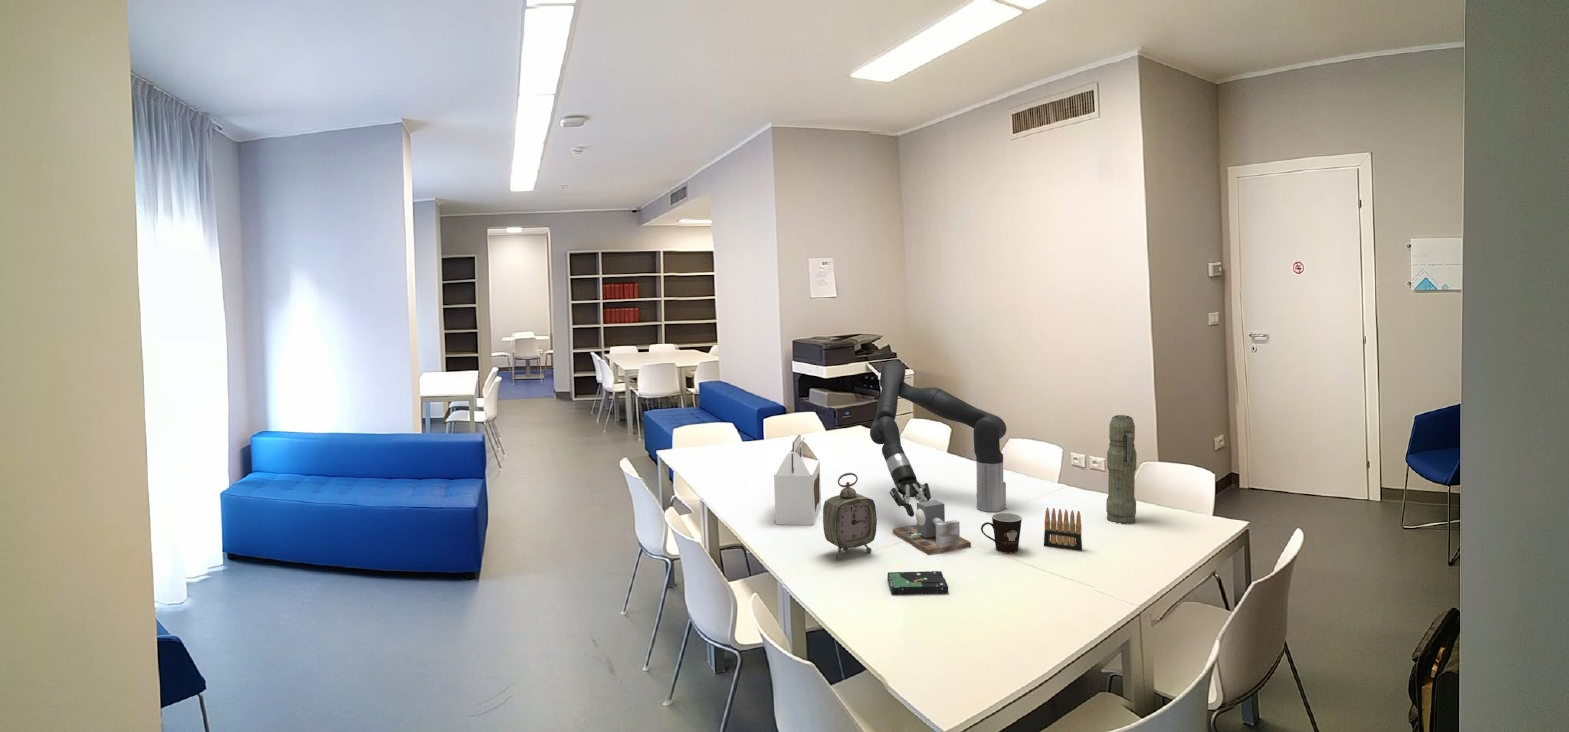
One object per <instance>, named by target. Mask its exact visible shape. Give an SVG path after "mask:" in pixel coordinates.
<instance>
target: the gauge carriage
mask: <svg viewBox="0 0 1569 732" xmlns="http://www.w3.org/2000/svg"><path fill="white" fill-rule="evenodd" d="M945 511H946V509H945V503H944V502H942V501H940V500H937V499H933V500H932V499H930V500H929V501H924V502H919V501H917V502H916V511H915V520H916V525H917V534H913V535H911V537H915V536H920V535H921V536H923V537H924V538H930V537H935V536H936V523H940V522H946V520H945V518H946V517H945V515H946V513H945Z"/></svg>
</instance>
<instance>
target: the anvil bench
mask: <svg viewBox="0 0 1569 732" xmlns="http://www.w3.org/2000/svg"><path fill="white" fill-rule="evenodd" d="M960 530H961V529H960V521H958V520H956V519H954V520H953V519H952V520H947V521H946V520H945V522H940V523H936V536H935V537H930V538H924V537H923V536H921V535H920V536H915V537H911V535H913V534H917V524H914V525H908V526H902V527H898V528H896V527H895V528H892V534H893V535H895V536H897V537H898V538H900V539H901V540H903V541H904V542H906V543H908V544H910V545H911V546H913V547H915V548H916V549H918V550H920V551H921V552H923V553H925V554H927V555H928V556H929V555H935V554H940V553H945V552H951V551H956V550H961V549H967V548H971V547H972V542H971V541H969V540H968V539H965V538H964V537H962V536H961V534H960Z"/></svg>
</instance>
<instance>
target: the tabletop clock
mask: <svg viewBox="0 0 1569 732" xmlns="http://www.w3.org/2000/svg"><path fill="white" fill-rule="evenodd" d="M846 476H847V477H848V476H854V478H855V481H854V482H852V483H850V482H849V481H847V482H846V483H845V484H841V483H840V482H841V479H842V478H843V477H846ZM857 483H858V476H857V474H855V473H853V472H845V473H843V474H842V475H840V476H839V477H838V479H837V485H838V486H839V487H841V488H842V489H841V491H840V493H839V494H837V495H834V496H830V497H829V498H827V499H826V500H825V501H824V503H823V506H822V507H823V509H822V524H823V525H822V527H823V534H824V537H825V540H826V541H827V542H828V543H830V544H832V545H833V546H836V547H837V548H838V550H837V551H838V554H837V555H836V557H835V558H836V560H838V561H840V560H841V559H842V555H841V553H842V552H841V551H843V552H845V553H847V552H848V551H849V549H853V548H858V547H862V546H864V547H865V548H866V553H868V554H870V553H871V552H872V547H868V544H870V543H872V542H873V541H874V540H875V538H876V534H877V521H878V518H877V508H876V504H875V500H874V499H872V498H869V497H867V496H864V495H863V494H860V493H857V491H856V489H854V488H853V486H855V485H856V484H857Z"/></svg>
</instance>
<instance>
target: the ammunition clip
mask: <svg viewBox="0 0 1569 732" xmlns="http://www.w3.org/2000/svg"><path fill="white" fill-rule="evenodd" d="M1068 512H1069V511H1068V510H1067V509H1065V510H1064V513H1062V509H1061V508H1059V509H1058V513H1057V515H1056V510H1055V507H1053V508H1052V510H1051V517H1050V509H1049V507H1046V509H1045V516H1044V533H1043V534H1044V535H1043V536H1044V537H1043V547H1044V548H1045V547H1047V548H1055V549H1062V550H1070V551H1077V552H1081V551H1082V550H1083V540H1082V539H1083V537H1082V532H1083V531H1082V528H1083V527H1082V520H1081V518H1082V517H1081V513H1080V510H1077V513H1076V520H1075V512H1074V510H1073V509H1072V510H1071V511H1070V516H1069V513H1068ZM1056 516H1057V517H1056ZM1069 517H1070V518H1069ZM1050 518H1051V519H1050Z"/></svg>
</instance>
